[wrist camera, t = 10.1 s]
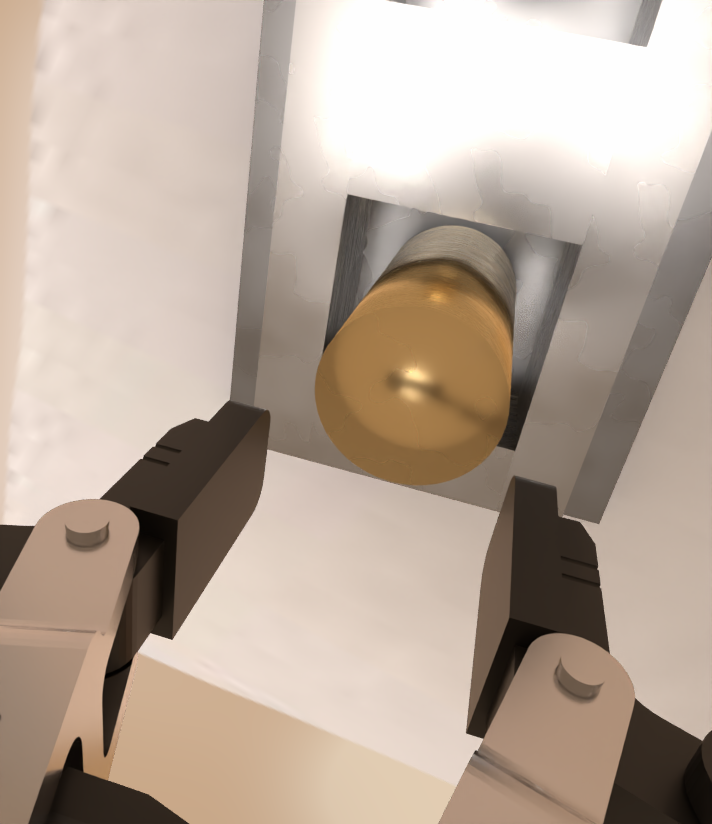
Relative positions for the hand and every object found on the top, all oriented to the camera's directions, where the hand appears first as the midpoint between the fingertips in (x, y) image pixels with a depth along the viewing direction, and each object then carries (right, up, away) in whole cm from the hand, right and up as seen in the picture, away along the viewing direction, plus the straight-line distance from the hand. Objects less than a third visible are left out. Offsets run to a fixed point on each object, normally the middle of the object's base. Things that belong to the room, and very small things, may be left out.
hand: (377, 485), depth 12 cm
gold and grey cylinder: (+3, +5, +11) cm, 13 cm away
